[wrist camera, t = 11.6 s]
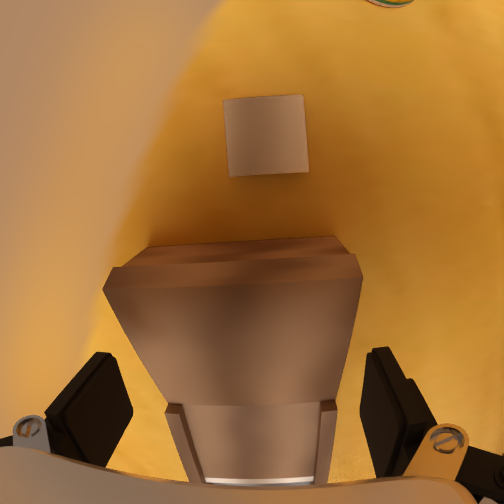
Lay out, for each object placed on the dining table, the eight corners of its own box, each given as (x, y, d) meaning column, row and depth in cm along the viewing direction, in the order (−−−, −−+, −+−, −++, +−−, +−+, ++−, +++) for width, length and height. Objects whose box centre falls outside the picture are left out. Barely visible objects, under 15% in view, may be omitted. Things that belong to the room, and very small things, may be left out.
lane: (334, 231, 18) (363, 263, 12) (314, 520, 27) (317, 560, 21) (146, 243, 19) (99, 277, 13) (219, 521, 28) (213, 561, 22)
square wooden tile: (300, 100, 16) (303, 94, 15) (305, 171, 17) (308, 172, 16) (226, 105, 16) (222, 99, 15) (232, 175, 17) (228, 176, 16)
